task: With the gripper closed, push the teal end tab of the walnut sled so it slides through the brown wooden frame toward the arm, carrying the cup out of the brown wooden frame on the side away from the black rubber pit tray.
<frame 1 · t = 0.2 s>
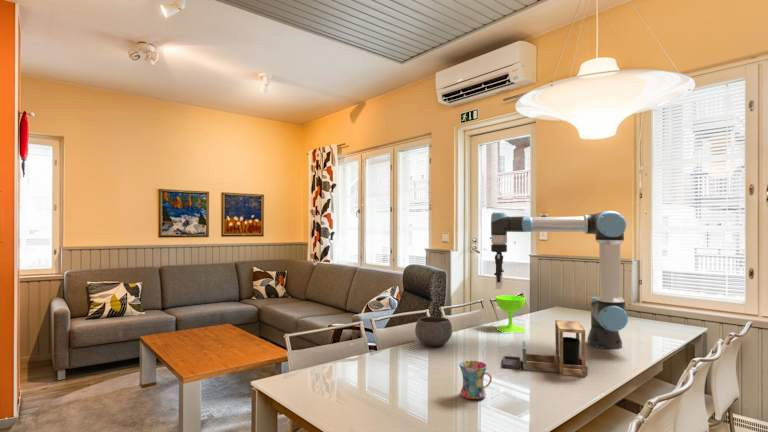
hand: (499, 287, 210), 28 cm above the table, fingers open, 13 cm apart
brown wooden frame: (569, 369, 173), on the table
cup: (569, 369, 173), resting in sled
mug: (476, 398, 144), on the table
pit tray: (511, 364, 179), on the table
wineglass: (510, 330, 239), on the table
sled: (553, 357, 175), point 4 cm above the table, slide at 0.0 cm
bowl: (433, 345, 209), on the table
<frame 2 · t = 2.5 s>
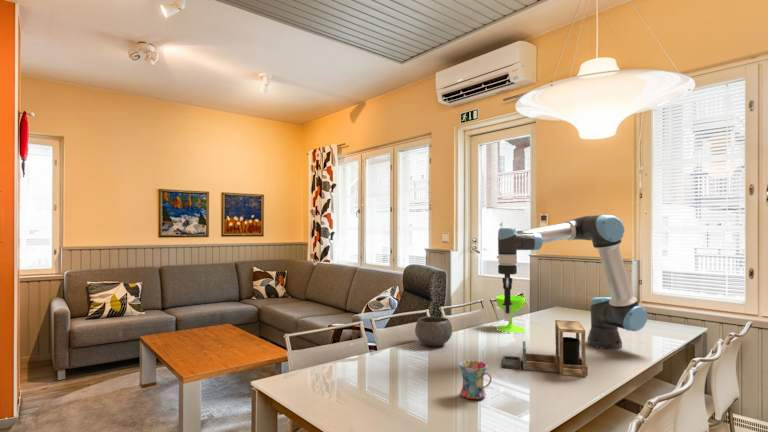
hand: (507, 320, 180), 18 cm above the table, fingers closed
nothing on the table moved.
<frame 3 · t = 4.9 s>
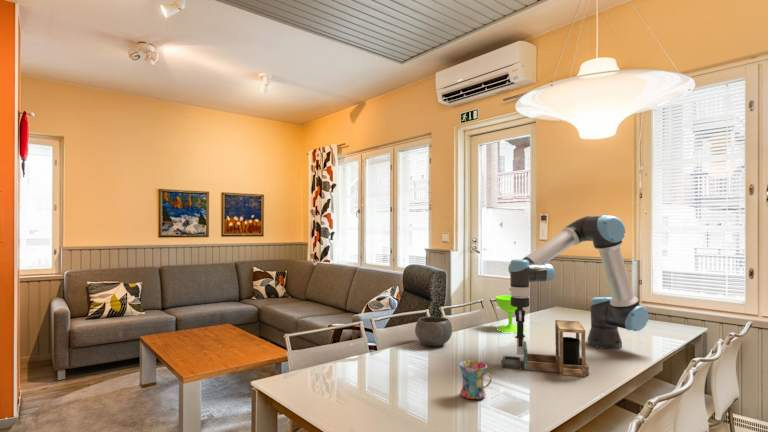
hand: (520, 353, 178), 5 cm above the table, fingers closed
sled: (554, 357, 174), point 4 cm above the table, slide at 0.5 cm, touching gripper
everything else where it was.
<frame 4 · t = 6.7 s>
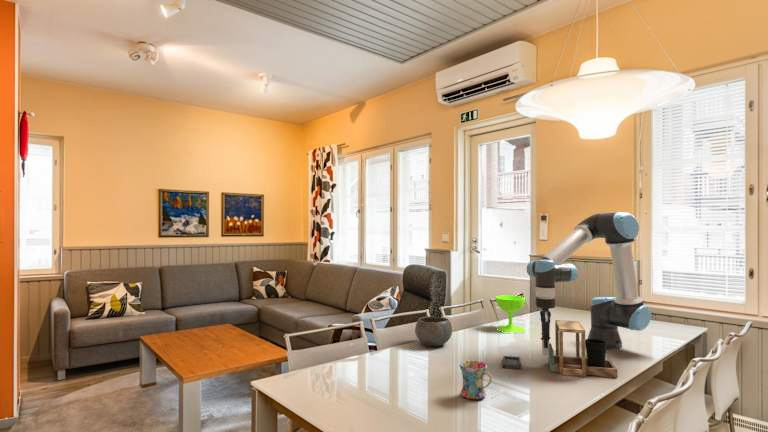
hand: (545, 355, 176), 5 cm above the table, fingers closed
cup: (596, 372, 170), resting in sled
sled: (581, 359, 172), point 4 cm above the table, slide at 10.4 cm, touching cup, gripper
everything else where it was.
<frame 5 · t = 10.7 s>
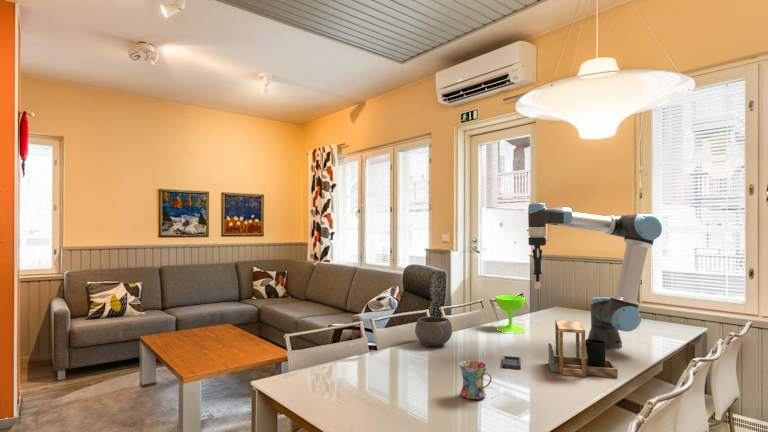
hand: (537, 288, 195), 29 cm above the table, fingers closed
cup: (596, 372, 170), resting in sled
sled: (581, 359, 172), point 4 cm above the table, slide at 10.4 cm
everything else where it was.
at the end: cup inside the target area (2.9 cm from its centre), resting in sled; sled slide at 10.4 cm; cup tilted 0° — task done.
